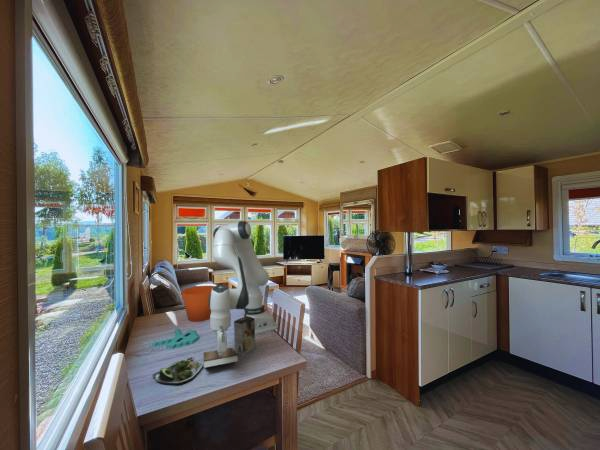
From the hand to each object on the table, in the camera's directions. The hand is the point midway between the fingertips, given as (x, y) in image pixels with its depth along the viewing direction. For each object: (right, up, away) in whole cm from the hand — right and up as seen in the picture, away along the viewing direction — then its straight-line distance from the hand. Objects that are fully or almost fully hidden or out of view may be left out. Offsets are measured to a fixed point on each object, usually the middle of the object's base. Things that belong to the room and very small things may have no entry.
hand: (220, 353), depth 113 cm
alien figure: (-33, -9, +31) cm, 46 cm away
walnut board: (-4, -8, +11) cm, 14 cm away
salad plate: (-18, -8, -2) cm, 20 cm away
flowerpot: (-35, -9, +67) cm, 76 cm away
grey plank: (0, -6, +2) cm, 6 cm away
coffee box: (+7, -8, +19) cm, 22 cm away
